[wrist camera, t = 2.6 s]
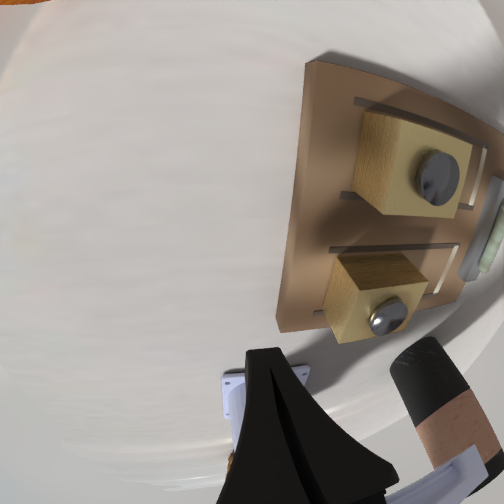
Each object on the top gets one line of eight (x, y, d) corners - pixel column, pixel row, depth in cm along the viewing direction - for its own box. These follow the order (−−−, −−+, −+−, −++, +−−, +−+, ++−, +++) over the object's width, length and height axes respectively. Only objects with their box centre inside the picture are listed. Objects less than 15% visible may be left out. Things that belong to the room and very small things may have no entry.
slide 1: (420, 195, 14) (461, 224, 11) (351, 189, 13) (391, 221, 10) (434, 131, 12) (481, 148, 9) (363, 111, 11) (411, 122, 8)
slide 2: (383, 300, 18) (408, 336, 15) (321, 309, 17) (342, 351, 14) (402, 253, 16) (434, 287, 13) (336, 256, 15) (365, 298, 12)
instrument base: (447, 291, 22) (469, 317, 19) (275, 317, 19) (289, 361, 16) (499, 135, 13) (533, 150, 10) (305, 63, 11) (341, 54, 7)
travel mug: (444, 340, 28) (510, 455, 11) (403, 377, 31) (457, 491, 14) (425, 329, 25) (506, 472, 8) (376, 372, 27) (438, 512, 11)
